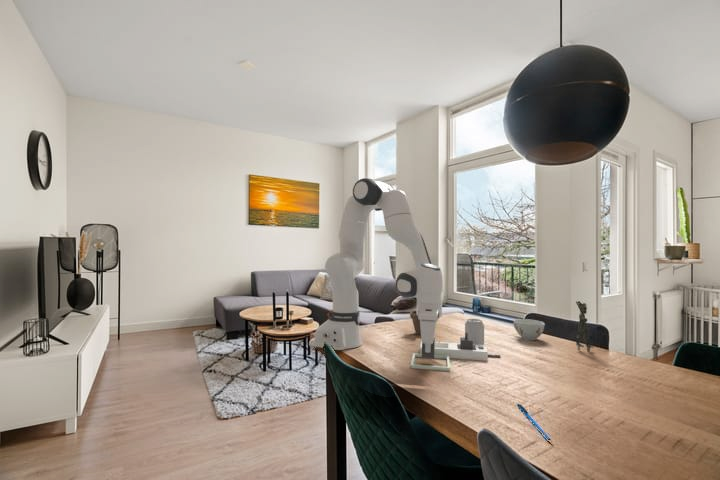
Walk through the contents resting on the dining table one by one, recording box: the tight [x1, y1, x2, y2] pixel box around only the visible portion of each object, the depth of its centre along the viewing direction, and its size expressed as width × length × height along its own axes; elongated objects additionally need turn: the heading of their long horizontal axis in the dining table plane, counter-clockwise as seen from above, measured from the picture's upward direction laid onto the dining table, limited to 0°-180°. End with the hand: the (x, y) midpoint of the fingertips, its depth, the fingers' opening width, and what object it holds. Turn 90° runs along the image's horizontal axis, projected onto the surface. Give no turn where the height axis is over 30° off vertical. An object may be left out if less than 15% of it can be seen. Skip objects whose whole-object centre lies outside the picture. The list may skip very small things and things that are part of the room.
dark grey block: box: [421, 337, 436, 359], centre depth 125 cm, size 4×4×6 cm
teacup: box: [512, 318, 546, 341], centre depth 161 cm, size 15×12×8 cm
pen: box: [517, 403, 552, 441], centre depth 85 cm, size 1×19×1 cm, turn 177°
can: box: [464, 318, 485, 345], centre depth 144 cm, size 8×8×12 cm
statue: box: [575, 300, 595, 352], centre depth 142 cm, size 5×6×20 cm
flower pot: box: [409, 310, 421, 336], centre depth 170 cm, size 12×11×10 cm
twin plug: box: [459, 331, 473, 350], centre depth 134 cm, size 4×4×8 cm
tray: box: [410, 352, 451, 372], centre depth 125 cm, size 13×13×2 cm
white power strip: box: [419, 340, 501, 361], centre depth 134 cm, size 29×9×5 cm, turn 77°
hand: (428, 349), depth 125 cm, fingers closed on dark grey block, 4 cm apart
